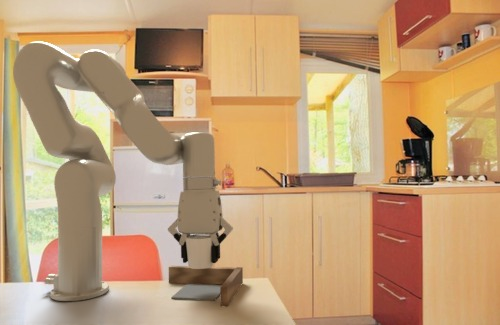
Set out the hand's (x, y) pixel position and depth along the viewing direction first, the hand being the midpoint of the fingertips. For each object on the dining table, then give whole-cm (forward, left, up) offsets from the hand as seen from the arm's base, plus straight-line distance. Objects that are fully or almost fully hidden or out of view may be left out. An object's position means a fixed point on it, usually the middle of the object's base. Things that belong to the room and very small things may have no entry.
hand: (200, 261), depth 87 cm
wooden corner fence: (-1, 0, -7) cm, 7 cm away
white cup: (0, 0, -1) cm, 1 cm away
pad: (0, 0, -7) cm, 7 cm away
